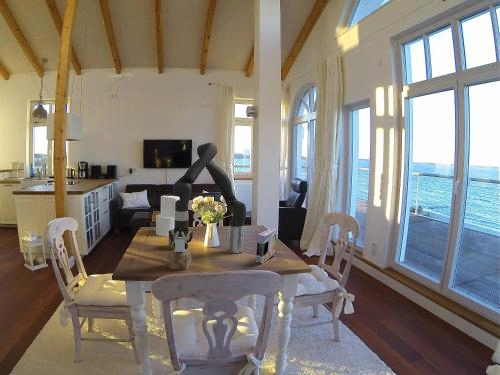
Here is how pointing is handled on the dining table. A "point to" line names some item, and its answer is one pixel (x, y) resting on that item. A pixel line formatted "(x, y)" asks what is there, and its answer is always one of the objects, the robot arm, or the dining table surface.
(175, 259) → the walnut box
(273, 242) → the cake pan box
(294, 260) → the dining table surface
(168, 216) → the white stepped tower
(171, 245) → the green tin canister
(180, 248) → the block
